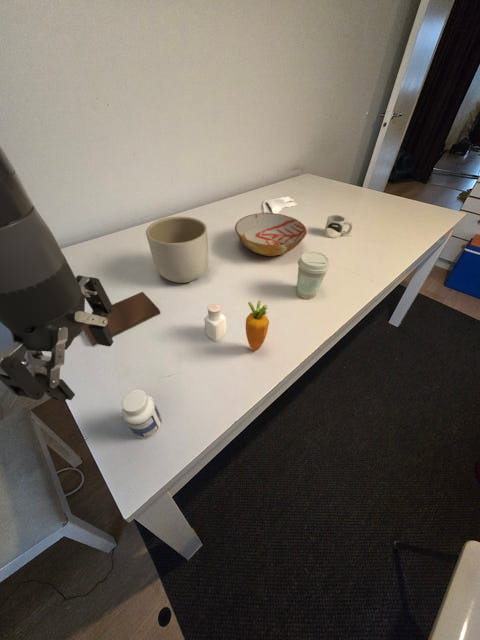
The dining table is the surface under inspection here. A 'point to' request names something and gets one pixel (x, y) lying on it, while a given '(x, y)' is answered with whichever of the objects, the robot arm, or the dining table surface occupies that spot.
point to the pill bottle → (141, 414)
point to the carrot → (256, 326)
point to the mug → (336, 226)
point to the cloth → (277, 204)
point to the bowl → (270, 233)
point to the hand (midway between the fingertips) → (88, 368)
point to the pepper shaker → (215, 322)
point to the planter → (179, 248)
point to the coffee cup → (311, 273)
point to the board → (127, 315)
